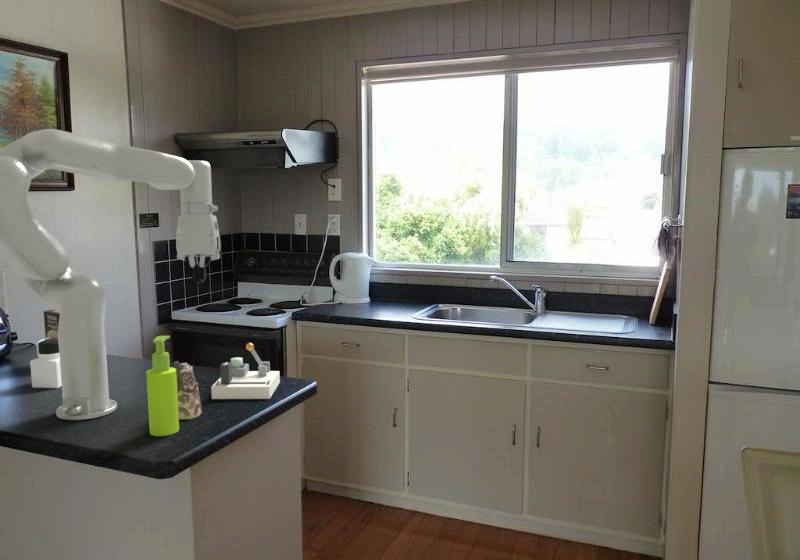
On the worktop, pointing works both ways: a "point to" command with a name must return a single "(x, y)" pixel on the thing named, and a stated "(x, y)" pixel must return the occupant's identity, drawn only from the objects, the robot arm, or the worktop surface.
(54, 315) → the coffee box
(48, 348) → the medicine bottle
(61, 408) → the robot arm
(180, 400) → the figurine
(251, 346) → the toggle lever
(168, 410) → the soap dispenser
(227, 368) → the slider knob
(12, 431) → the worktop surface
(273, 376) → the panel
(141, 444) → the worktop surface
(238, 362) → the push button
